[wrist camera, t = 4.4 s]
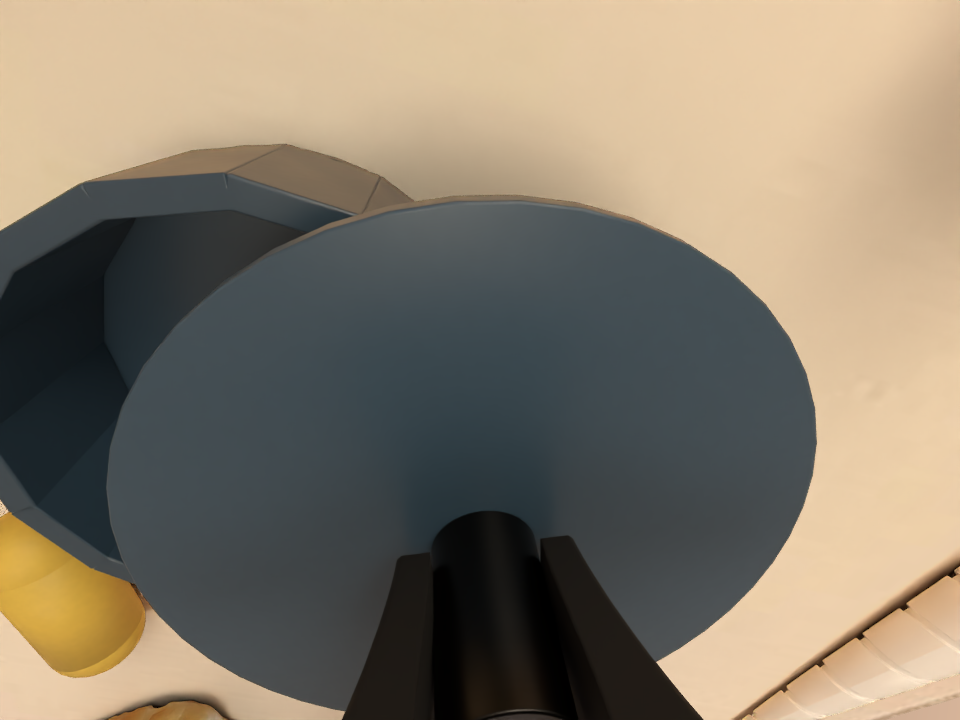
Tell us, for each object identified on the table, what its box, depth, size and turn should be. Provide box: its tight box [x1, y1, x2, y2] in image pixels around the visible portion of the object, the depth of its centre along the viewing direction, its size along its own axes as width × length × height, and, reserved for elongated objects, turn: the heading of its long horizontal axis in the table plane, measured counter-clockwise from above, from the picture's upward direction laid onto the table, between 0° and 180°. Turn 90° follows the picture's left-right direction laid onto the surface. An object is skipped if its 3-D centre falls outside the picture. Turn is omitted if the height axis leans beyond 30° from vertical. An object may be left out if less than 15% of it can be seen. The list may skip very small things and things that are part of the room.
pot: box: [0, 144, 415, 584], centre depth 16 cm, size 15×20×6 cm
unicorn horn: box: [742, 567, 960, 720], centre depth 33 cm, size 5×24×5 cm, turn 144°
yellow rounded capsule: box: [0, 512, 145, 678], centre depth 22 cm, size 9×4×4 cm, turn 3°
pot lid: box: [106, 195, 817, 720], centre depth 10 cm, size 16×16×5 cm
